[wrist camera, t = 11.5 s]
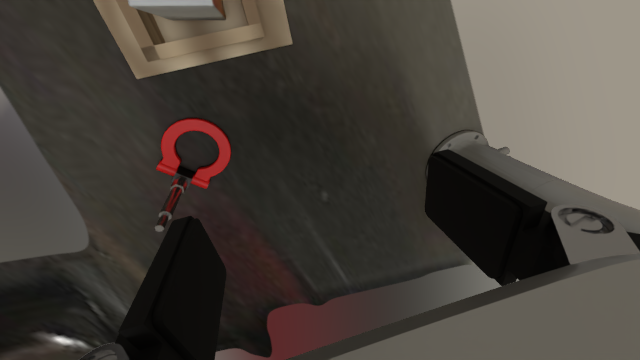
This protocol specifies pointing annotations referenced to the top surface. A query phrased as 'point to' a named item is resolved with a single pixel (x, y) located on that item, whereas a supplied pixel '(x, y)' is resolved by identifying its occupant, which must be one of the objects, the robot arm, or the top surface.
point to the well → (194, 34)
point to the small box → (182, 9)
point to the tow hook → (182, 175)
